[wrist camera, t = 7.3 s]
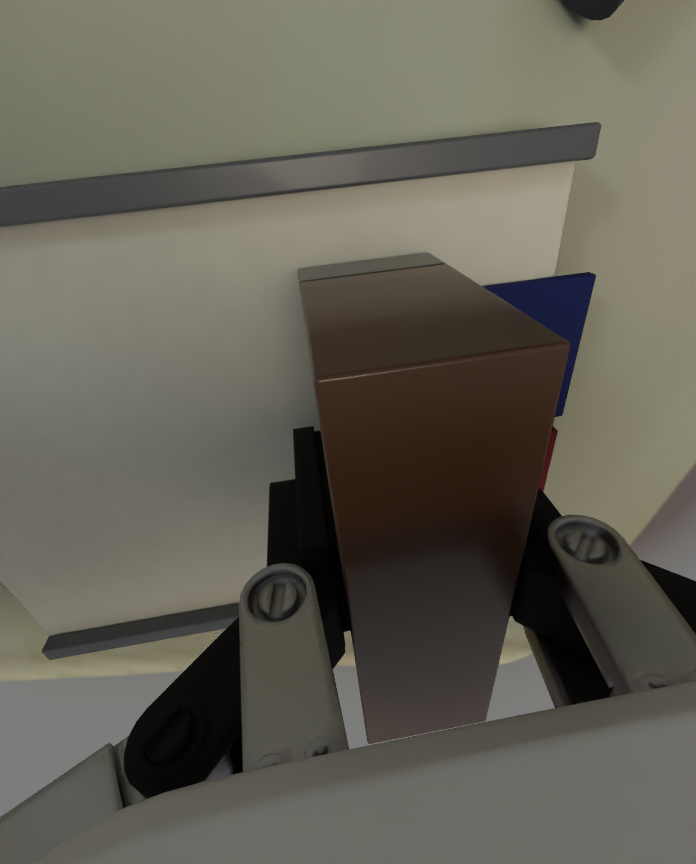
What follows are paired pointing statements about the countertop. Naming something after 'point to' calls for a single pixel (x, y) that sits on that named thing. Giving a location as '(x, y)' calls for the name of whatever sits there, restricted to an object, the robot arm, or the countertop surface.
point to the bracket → (594, 8)
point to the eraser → (428, 474)
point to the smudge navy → (553, 310)
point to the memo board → (209, 354)
